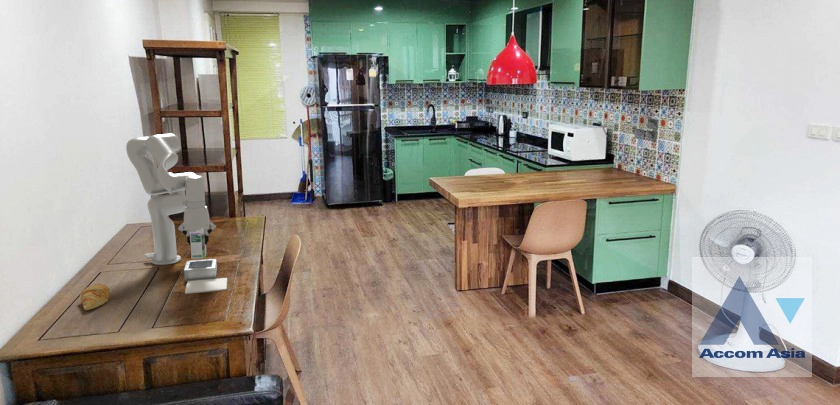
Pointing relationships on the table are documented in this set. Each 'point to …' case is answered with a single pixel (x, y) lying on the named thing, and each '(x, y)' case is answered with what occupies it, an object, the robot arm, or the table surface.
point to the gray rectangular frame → (200, 270)
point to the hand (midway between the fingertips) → (198, 243)
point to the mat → (206, 285)
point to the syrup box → (198, 244)
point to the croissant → (94, 296)
